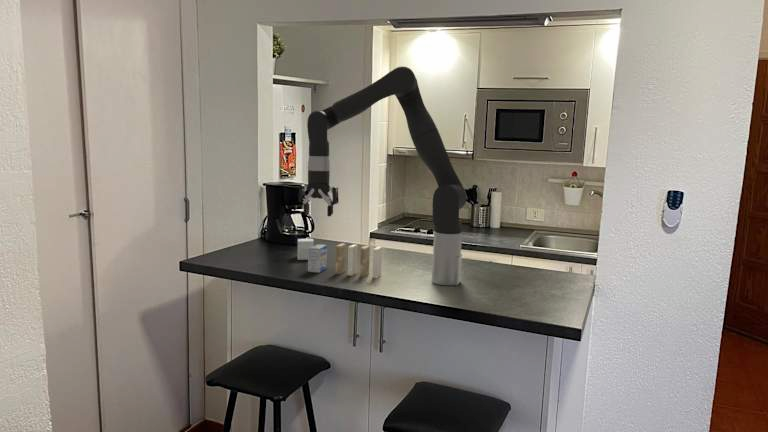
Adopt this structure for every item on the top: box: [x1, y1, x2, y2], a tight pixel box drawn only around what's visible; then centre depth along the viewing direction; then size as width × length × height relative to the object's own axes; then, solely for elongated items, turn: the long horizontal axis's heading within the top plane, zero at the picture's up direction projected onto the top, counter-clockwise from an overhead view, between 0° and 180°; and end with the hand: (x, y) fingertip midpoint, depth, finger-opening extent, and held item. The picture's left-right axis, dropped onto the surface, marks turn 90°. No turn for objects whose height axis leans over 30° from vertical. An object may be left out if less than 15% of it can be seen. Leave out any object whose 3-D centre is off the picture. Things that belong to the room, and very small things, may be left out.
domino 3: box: [359, 245, 371, 278], centre depth 203 cm, size 2×5×10 cm, turn 163°
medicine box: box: [307, 243, 328, 274], centre depth 208 cm, size 8×4×9 cm, turn 167°
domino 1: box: [335, 242, 347, 275], centre depth 206 cm, size 2×5×10 cm, turn 163°
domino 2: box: [347, 244, 359, 277], centre depth 204 cm, size 2×5×10 cm, turn 163°
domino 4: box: [371, 246, 383, 279], centre depth 202 cm, size 2×5×10 cm, turn 163°
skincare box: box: [297, 238, 315, 261], centre depth 227 cm, size 6×6×7 cm
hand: (318, 215), depth 206 cm, fingers open, 8 cm apart
